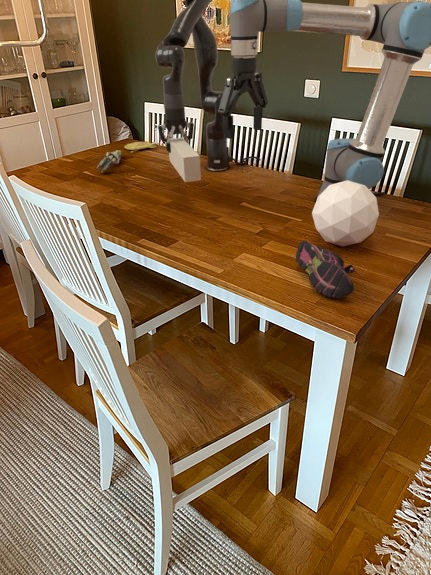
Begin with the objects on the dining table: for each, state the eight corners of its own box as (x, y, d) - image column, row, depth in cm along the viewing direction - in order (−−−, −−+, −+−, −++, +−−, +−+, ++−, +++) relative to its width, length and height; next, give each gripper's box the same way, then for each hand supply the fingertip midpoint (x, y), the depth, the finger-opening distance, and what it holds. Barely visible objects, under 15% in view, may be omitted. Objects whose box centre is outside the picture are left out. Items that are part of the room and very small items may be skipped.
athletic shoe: (341, 287, 106) (380, 279, 110) (299, 225, 117) (336, 220, 122) (323, 315, 114) (360, 306, 119) (286, 254, 126) (321, 249, 130)
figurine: (101, 154, 197) (119, 141, 223) (91, 167, 200) (110, 152, 227) (114, 165, 199) (130, 151, 225) (103, 178, 203) (121, 162, 229)
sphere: (321, 259, 144) (291, 205, 142) (371, 228, 146) (342, 175, 144) (347, 258, 125) (313, 196, 123) (404, 222, 128) (371, 161, 125)
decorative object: (138, 138, 251) (166, 140, 241) (139, 142, 252) (166, 144, 242) (113, 146, 236) (141, 149, 226) (113, 151, 237) (142, 154, 228)
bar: (169, 161, 178) (167, 139, 173) (183, 159, 179) (182, 137, 175) (185, 182, 156) (183, 157, 152) (200, 180, 158) (199, 155, 153)
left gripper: (157, 109, 160) (161, 156, 169) (195, 106, 163) (197, 151, 172) (153, 105, 166) (157, 150, 175) (190, 102, 169) (193, 146, 178)
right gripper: (224, 61, 115) (225, 144, 127) (281, 53, 130) (277, 127, 142) (203, 60, 120) (206, 140, 131) (261, 52, 135) (259, 124, 146)
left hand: (177, 151), depth 174 cm, fingers closed on bar, 6 cm apart
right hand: (243, 133), depth 137 cm, fingers open, 13 cm apart
